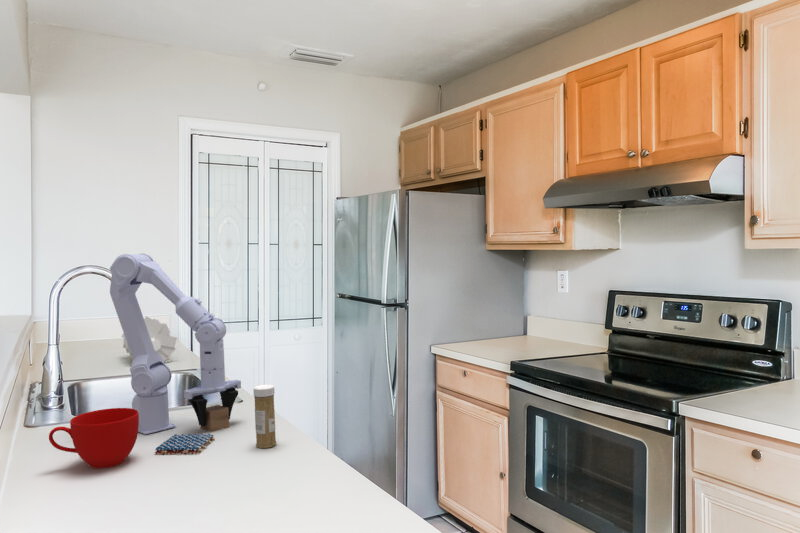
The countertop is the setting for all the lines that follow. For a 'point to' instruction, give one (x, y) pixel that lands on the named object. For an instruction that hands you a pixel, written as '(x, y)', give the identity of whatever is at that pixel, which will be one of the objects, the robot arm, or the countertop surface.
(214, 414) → the walnut block
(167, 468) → the countertop surface
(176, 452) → the woven mat
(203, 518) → the countertop surface
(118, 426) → the ceramic cup
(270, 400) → the sprinkles bottle
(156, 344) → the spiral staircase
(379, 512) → the countertop surface
